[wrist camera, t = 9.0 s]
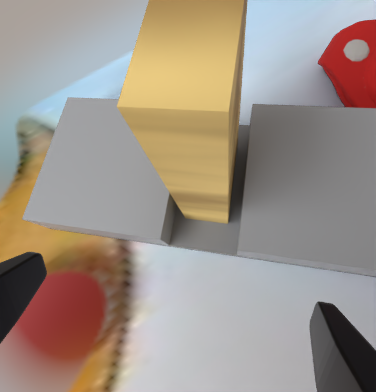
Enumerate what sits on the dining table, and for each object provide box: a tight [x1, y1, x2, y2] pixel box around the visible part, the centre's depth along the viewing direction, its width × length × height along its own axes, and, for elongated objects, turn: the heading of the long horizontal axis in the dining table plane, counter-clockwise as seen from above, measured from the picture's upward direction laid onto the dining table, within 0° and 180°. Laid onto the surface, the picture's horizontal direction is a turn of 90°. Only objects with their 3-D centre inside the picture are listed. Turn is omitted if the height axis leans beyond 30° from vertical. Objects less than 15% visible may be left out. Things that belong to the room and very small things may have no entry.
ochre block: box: [117, 0, 247, 224], centre depth 13 cm, size 6×3×12 cm, turn 171°
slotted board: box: [22, 98, 376, 277], centre depth 18 cm, size 10×24×3 cm, turn 81°
